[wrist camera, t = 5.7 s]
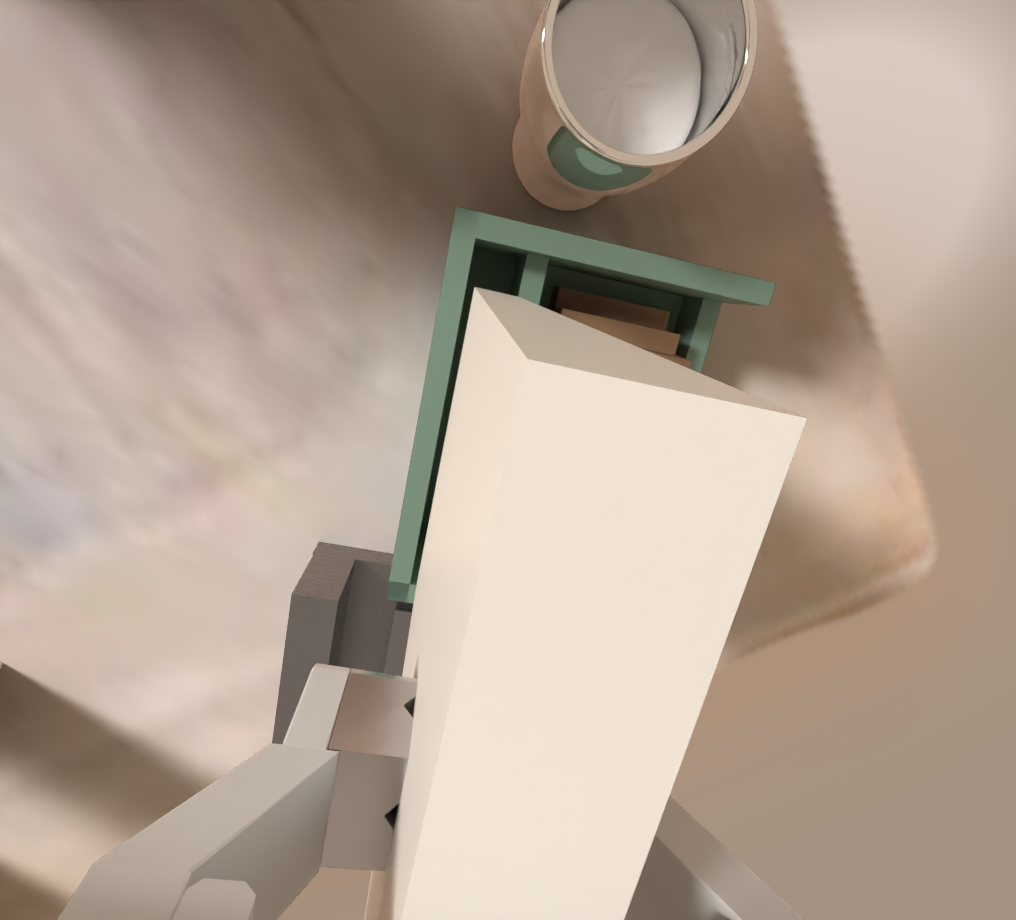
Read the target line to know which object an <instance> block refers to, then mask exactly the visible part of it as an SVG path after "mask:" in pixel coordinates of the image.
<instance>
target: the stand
mask: <svg viewBox="0 0 1016 920" xmlns="http://www.w3.org/2000/svg"><path fill="white" fill-rule="evenodd" d="M393 556H394V554H389V553H383V552H377V551H370V550H364V549H358V548H352V547H346V546H340V545H334V544H328V543H322V542H319V543H318V545H317V547H316V548H315V550H314V552H313V557H312V559H311V561H310V562H309V564H308V566H307V568H306V569H305V571H304V573H303V575H302V577H301V578H300V580H299V582H298V584H297V586H296V587H295V589H294V591H293V593H292V596H291V604H290V611H289V619H288V627H287V634H286V642H285V649H284V657H283V665H282V672H281V680H280V687H279V695H278V703H277V710H276V718H275V725H274V733H273V741H272V743H274V744H283V741H284V739H285V736H286V734H287V731H288V728H289V726H290V723H291V721H292V718H293V716H294V713H295V711H296V708H297V705H298V703H299V700H300V698H301V695H302V693H303V690H304V687H305V685H306V682H307V680H308V677H309V675H310V672H311V670H312V668H313V667H314V666H315V664H316V663H319V664H326V665H332V666H339V667H346V668H349V669H350V670H351V669H352V668H354V669H360V670H366V671H372V672H378V673H384V674H391V675H397V676H402V674H403V667H404V661H405V655H406V648H407V642H408V635H409V629H410V623H411V616H412V610H413V603H407V602H400V601H394V600H387V599H386V595H387V589H388V584H389V578H390V572H391V567H392V561H393Z"/></svg>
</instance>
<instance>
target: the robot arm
mask: <svg viewBox="0 0 1016 920" xmlns="http://www.w3.org/2000/svg"><path fill="white" fill-rule="evenodd" d="M417 684H418V679H415V678H409V677H403V676H397V675H391V674H384V673H378V672H372V671H366V670H360V669H354V668H352V669H351V670H350V669H349V668H346V667H339V666H332V665H326V664H319V663H316V664H315V666H314V667H313V668H312V670H311V672H310V675H309V677H308V680H307V682H306V685H305V687H304V690H303V693H302V695H301V698H300V700H299V703H298V705H297V708H296V711H295V713H294V716H293V718H292V721H291V723H290V726H289V728H288V731H287V734H286V736H285V739H284V741H283V744H274V743H271V744H269V745H268V746H266V747H265V748H263V749H262V750H260V751H259V752H257V753H256V754H254V755H253V756H251V757H250V758H248V759H247V760H246V761H244V762H243V763H241V764H240V765H238V766H237V767H235V768H234V769H232V770H231V771H229V772H228V773H226V774H225V775H223V776H222V777H220V778H219V779H217V780H216V781H214V782H213V783H211V784H210V785H208V786H207V787H205V788H204V789H202V790H201V791H200V792H198V793H197V794H195V795H194V796H192V797H191V798H189V799H188V800H186V801H185V802H183V803H182V804H180V805H179V806H177V807H176V808H174V809H173V810H171V811H170V812H168V813H167V814H165V815H164V816H162V817H161V818H159V819H158V820H156V821H155V822H154V823H152V824H151V825H149V826H148V827H146V828H145V829H143V830H142V831H140V832H139V833H137V834H136V835H134V836H133V837H131V838H130V839H128V840H127V841H125V842H124V843H122V844H121V845H119V846H118V847H116V848H115V849H113V850H112V851H110V852H109V853H108V854H106V855H105V856H103V857H102V858H100V859H99V860H97V861H96V862H94V863H93V864H92V866H91V868H90V869H89V871H88V872H87V874H86V875H85V877H84V879H83V880H82V882H81V883H80V885H79V886H78V888H77V890H76V891H75V893H74V894H73V896H72V897H71V899H70V900H69V902H68V904H67V905H66V907H65V908H64V910H63V911H62V913H61V915H60V916H59V918H58V919H57V920H277V919H278V917H279V916H280V915H281V914H282V913H283V912H284V911H285V909H286V908H287V907H288V906H289V905H290V904H291V903H292V901H293V900H294V899H295V898H296V897H297V896H298V895H299V893H300V892H301V891H302V890H303V889H304V888H305V886H306V885H307V884H308V883H309V882H310V881H311V879H312V878H313V877H314V876H315V875H316V874H317V873H318V871H319V867H331V868H346V869H361V870H375V871H385V870H386V865H387V860H388V855H389V851H390V846H391V841H392V836H393V831H394V824H395V817H396V809H397V805H398V804H399V803H400V798H401V793H402V788H403V784H404V779H405V774H406V769H407V765H408V760H409V752H410V744H411V735H412V727H413V717H412V713H413V709H414V704H415V699H416V692H417ZM624 920H804V919H803V918H802V917H801V916H799V915H798V914H797V913H796V912H795V911H794V910H793V909H792V908H791V907H790V906H789V905H788V904H787V903H785V902H784V901H783V900H782V899H781V898H780V897H779V896H778V895H777V894H776V893H775V892H774V891H772V890H771V889H770V888H769V887H768V886H767V885H766V884H765V883H764V882H763V881H762V880H761V879H759V878H758V877H757V876H756V875H755V874H754V873H753V872H752V871H751V870H750V869H749V868H748V867H746V866H745V865H744V864H743V863H742V862H741V861H740V860H739V859H738V858H737V857H735V855H733V854H732V853H731V852H730V851H729V850H728V849H727V848H726V847H725V846H724V845H723V844H721V843H720V842H719V841H718V840H717V839H716V838H715V837H714V836H713V835H712V834H711V833H710V832H709V831H708V830H706V829H705V828H704V827H703V826H702V825H701V824H700V823H699V822H697V820H695V819H694V818H693V817H692V816H691V815H690V814H689V813H688V812H687V811H686V810H685V809H684V808H683V807H682V806H680V805H679V804H678V803H677V802H676V801H675V800H674V799H673V798H672V797H671V796H670V795H669V798H668V800H667V803H666V806H665V809H664V811H663V814H662V817H661V820H660V822H659V825H658V828H657V831H656V833H655V836H654V839H653V842H652V844H651V847H650V850H649V852H648V855H647V858H646V861H645V863H644V866H643V869H642V872H641V874H640V877H639V880H638V883H637V885H636V888H635V891H634V894H633V896H632V899H631V902H630V905H629V907H628V910H627V913H626V916H625V918H624Z"/></svg>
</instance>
